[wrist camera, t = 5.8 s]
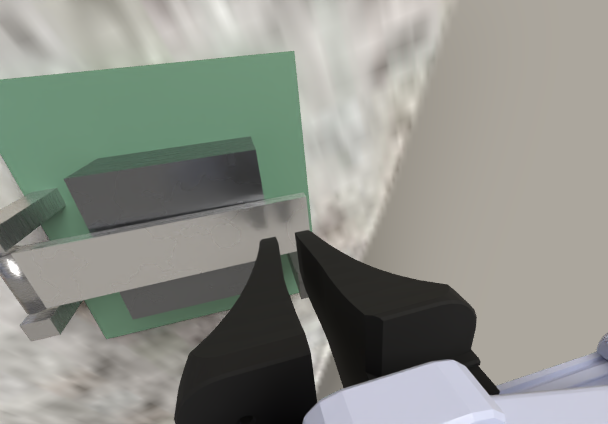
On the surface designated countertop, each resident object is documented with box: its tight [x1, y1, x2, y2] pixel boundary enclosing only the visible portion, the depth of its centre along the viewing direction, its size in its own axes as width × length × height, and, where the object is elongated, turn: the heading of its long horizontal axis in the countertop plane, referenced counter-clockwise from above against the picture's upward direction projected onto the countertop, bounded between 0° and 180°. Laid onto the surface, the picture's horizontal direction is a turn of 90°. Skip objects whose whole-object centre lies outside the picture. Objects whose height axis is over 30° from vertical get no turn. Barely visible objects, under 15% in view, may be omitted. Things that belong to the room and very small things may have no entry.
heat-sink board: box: [0, 51, 312, 341], centre depth 16 cm, size 15×16×6 cm
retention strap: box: [0, 193, 310, 314], centre depth 14 cm, size 14×3×1 cm, turn 96°
